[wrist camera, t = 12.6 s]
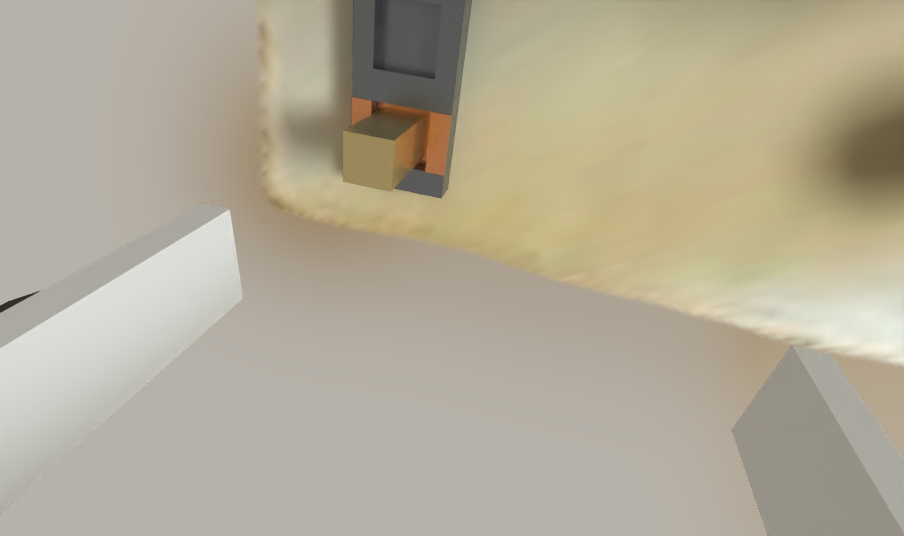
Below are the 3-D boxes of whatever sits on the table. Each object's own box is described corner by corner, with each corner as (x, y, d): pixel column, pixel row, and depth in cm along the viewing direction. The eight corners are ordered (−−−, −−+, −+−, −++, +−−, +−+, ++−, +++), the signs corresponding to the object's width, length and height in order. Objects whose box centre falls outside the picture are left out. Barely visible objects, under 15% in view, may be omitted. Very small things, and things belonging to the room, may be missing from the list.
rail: (366, -177, 32) (351, -190, 30) (492, -163, 31) (486, -176, 29) (360, 171, 46) (349, 179, 44) (447, 189, 45) (441, 198, 43)
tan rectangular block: (384, 106, 41) (342, 130, 34) (427, 114, 41) (394, 140, 33) (382, 149, 43) (343, 181, 36) (423, 157, 43) (391, 191, 35)
